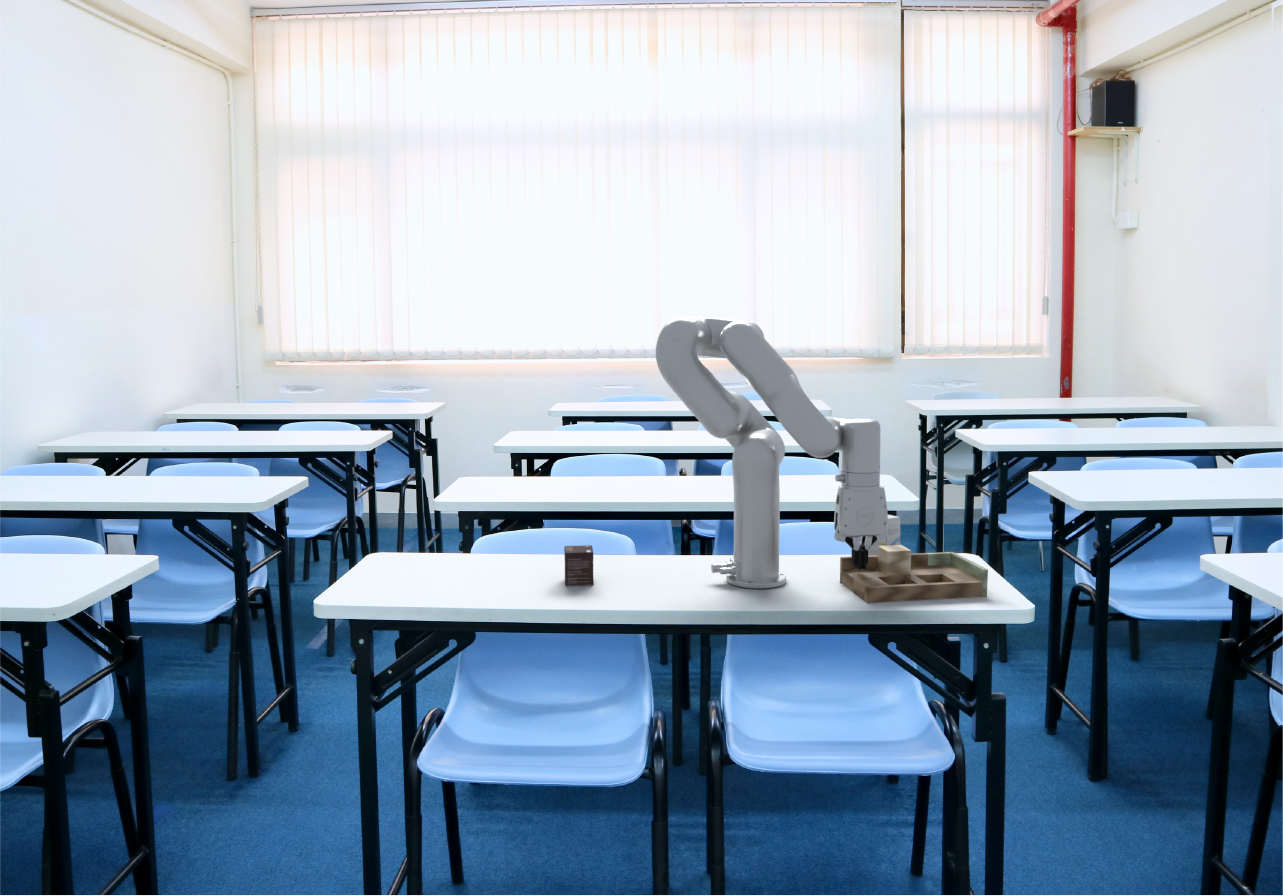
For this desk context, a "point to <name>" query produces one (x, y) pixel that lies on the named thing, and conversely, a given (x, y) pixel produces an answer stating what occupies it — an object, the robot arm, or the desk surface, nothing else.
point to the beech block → (894, 560)
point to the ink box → (887, 536)
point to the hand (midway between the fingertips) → (859, 567)
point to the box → (578, 565)
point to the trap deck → (917, 579)
